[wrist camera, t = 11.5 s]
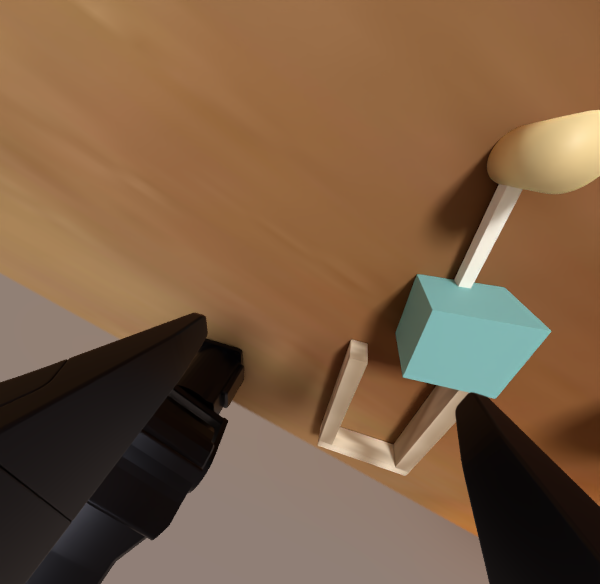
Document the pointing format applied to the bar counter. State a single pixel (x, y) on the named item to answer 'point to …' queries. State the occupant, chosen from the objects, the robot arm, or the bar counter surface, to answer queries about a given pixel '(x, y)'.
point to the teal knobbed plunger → (462, 290)
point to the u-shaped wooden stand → (394, 457)
